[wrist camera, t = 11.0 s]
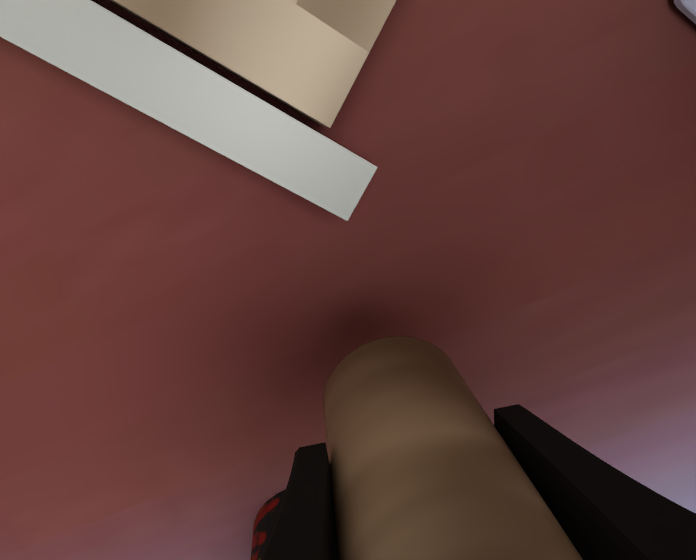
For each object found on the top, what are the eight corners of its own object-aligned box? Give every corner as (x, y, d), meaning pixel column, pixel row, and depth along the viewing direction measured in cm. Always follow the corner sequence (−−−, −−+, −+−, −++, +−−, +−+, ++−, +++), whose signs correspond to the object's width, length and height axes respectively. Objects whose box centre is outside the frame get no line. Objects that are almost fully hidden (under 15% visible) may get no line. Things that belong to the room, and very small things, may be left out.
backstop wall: (363, 158, 17) (377, 167, 14) (338, 204, 18) (347, 221, 15) (-196, -167, 12) (-340, -251, 9) (-208, -91, 13) (-350, -149, 10)
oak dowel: (486, 370, 13) (763, 724, 5) (413, 471, 14) (559, 895, 6) (368, 313, 12) (502, 656, 4) (298, 428, 13) (305, 873, 5)
